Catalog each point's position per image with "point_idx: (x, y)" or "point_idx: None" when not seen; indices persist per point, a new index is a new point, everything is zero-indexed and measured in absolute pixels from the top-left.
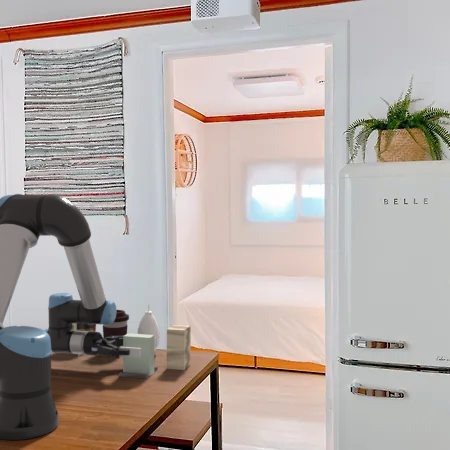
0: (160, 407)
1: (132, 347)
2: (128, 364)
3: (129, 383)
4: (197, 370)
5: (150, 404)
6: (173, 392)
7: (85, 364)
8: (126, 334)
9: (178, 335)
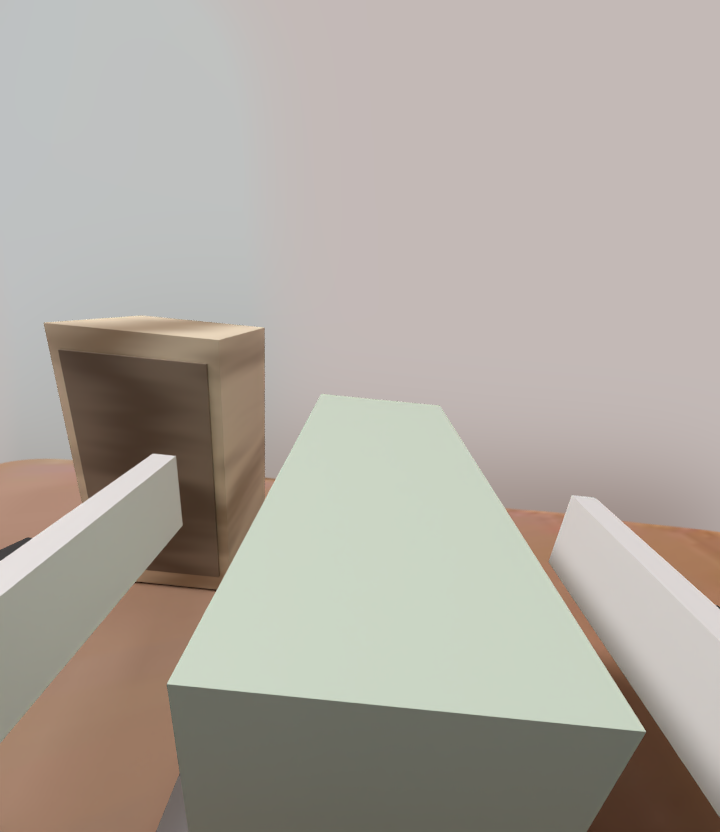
0: (692, 530)
1: (637, 556)
2: None
3: (632, 768)
4: (271, 486)
5: (714, 559)
6: (546, 519)
7: None
8: (356, 696)
9: (253, 366)
